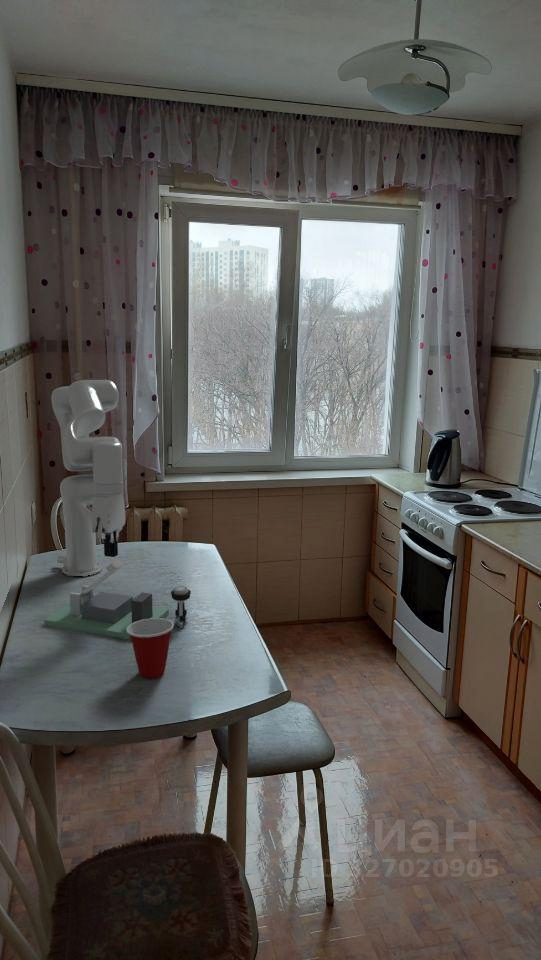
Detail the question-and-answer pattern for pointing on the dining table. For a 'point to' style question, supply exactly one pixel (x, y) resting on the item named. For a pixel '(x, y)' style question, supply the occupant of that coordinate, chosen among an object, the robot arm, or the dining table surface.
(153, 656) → the plastic cup
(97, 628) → the board
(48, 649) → the dining table surface
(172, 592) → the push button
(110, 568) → the retention strap
